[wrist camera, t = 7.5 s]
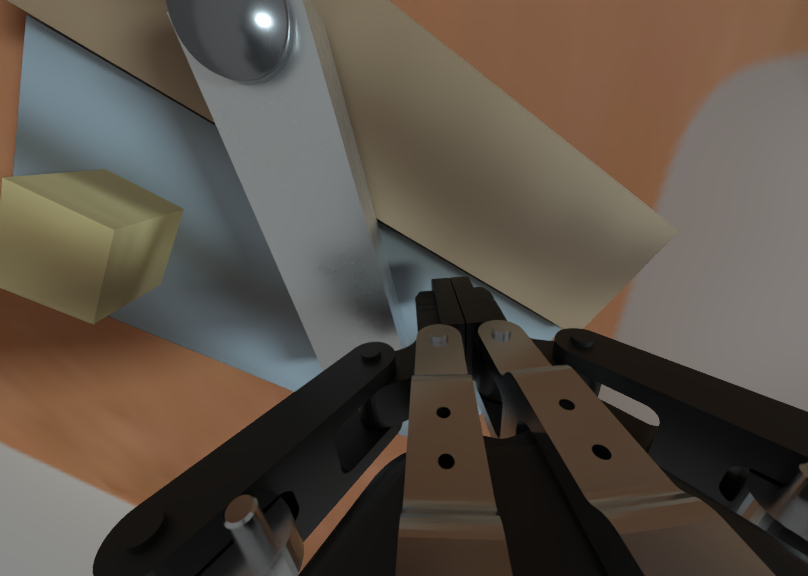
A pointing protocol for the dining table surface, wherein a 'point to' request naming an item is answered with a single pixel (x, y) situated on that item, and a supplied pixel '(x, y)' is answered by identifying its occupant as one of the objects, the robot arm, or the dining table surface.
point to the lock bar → (296, 162)
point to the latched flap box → (234, 217)
